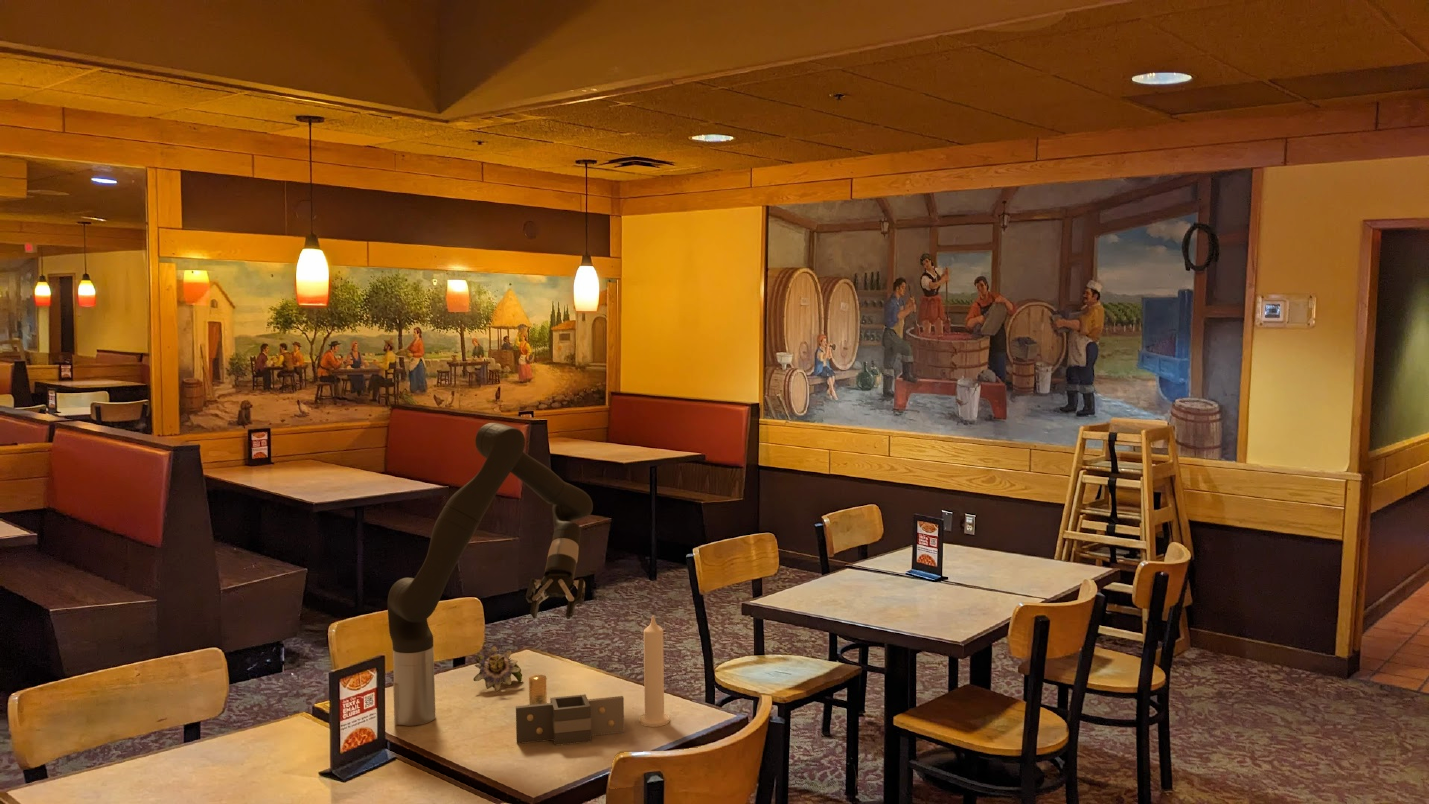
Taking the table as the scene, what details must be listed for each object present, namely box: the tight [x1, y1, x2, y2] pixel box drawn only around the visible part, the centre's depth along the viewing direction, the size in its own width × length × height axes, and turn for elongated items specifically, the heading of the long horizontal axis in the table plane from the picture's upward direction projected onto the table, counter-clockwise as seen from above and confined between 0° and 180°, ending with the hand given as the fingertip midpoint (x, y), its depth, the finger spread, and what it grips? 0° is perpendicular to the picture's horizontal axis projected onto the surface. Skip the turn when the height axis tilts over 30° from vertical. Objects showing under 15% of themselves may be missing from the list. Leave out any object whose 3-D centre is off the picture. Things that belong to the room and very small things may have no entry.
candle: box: [638, 615, 671, 728], centre depth 248 cm, size 7×7×25 cm
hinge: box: [515, 693, 625, 746], centre depth 240 cm, size 24×8×8 cm, turn 105°
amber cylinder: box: [528, 674, 548, 705], centre depth 251 cm, size 4×4×10 cm
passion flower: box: [473, 646, 523, 692], centre depth 275 cm, size 11×11×12 cm
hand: (550, 617), depth 261 cm, fingers open, 8 cm apart
